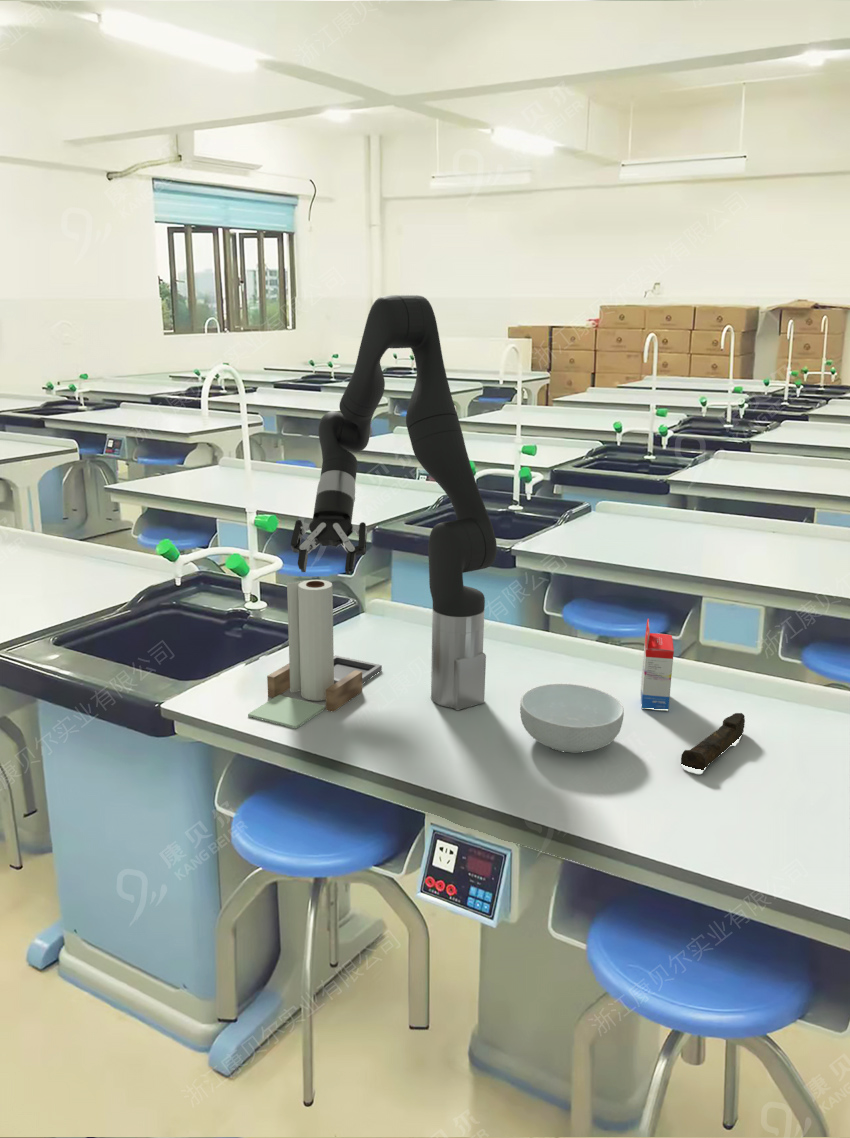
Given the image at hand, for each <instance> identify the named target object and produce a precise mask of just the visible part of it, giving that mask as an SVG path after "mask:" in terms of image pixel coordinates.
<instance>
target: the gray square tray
mask: <svg viewBox="0 0 850 1138" xmlns="http://www.w3.org/2000/svg"><path fill="white" fill-rule="evenodd" d="M382 666H383V665H382V664H379V663H373V662H369V661H364V660H359V659H354V658H350V657H345V656H339V655H334V684H335V683H336V682H338V681H339V680H341V679H342V678H344V677H345V676H347V675H348V674H350V673H351V672H353V671H354V670H357V671H362V685H364V684H365V683H366V682H368V681H369V680H371V679H372V678H373V677H372V676H374V675H375V674H376V675H378V674H379V673H381V672H382V671H381V670H382V669H383V668H382ZM380 671H381V672H380ZM378 672H379V673H378ZM377 673H378V674H377ZM376 675H375V676H376ZM375 676H374V677H375ZM371 677H372V678H371ZM370 678H371V679H370ZM368 679H369V680H368ZM367 680H368V681H367ZM364 682H365V683H364ZM363 683H364V684H363Z"/></svg>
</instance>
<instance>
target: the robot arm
mask: <svg viewBox="0 0 850 1138" xmlns="http://www.w3.org/2000/svg"><path fill="white" fill-rule="evenodd" d="M436 319H437V318H436V314H435V313H434V309H433V306H432V304H431V303H430V301H429V300H428V299H427V297H424V296H422V295H417V294H416V295H415V294H414V295H413V294H410V295H409V294H406V295H405V294H401V295H400V294H398V295H397V294H388V295H382V296H379V297H377V298H376V300H374V302H373V304H372V306H371V307H370V310H369V312H368V316H367V319H366V321H365V325H364V329H363V333H362V336H361V337H362V338H361V340H360V346H359V349H358V355H357V358H356V363H355V366H354V370H353V372H352V375H351V378H350V379H349V381H348V384H347V386H346V388H345V390H344V391H343V392H344V393H343V395H342V396H341V399H340V401H339V410H340V412H339V411H334V410H331V411H327V412H326V413H325V414H323V416H322V417H321V418H320V421H319V424H318V438H319V444H320V449H321V457H322V463H321V469H320V477H319V480H318V485H317V489H316V490H317V491H316V497H315V502H314V508H313V509H314V510H313V514H312V515H313V516H312V520H311V521H310V523H307V522H302V520H301V519H297V520H295V522H294V528H293V532H292V536H291V541H290V547H291V550H292V552H293V553H295V554H297V553H298V557H297V558H298V559H297V565H298V570H300V572H301V573H306V572H307V566H308V560H309V554H310V553H311V552H312V551H313V550H315V549H317V547H319V546H320V545H321V546H322V547H328V546H332V547H339V546H340V545H341V546H342V547H343V549H344V551H346V558H345V565H344V571H345V574H346V575H350V574H351V572H354V570H355V563H356V557H357V556H365V555H366V553H367V541H368V540H367V539H368V537H367V536H368V529H367V525H366V522H360V523H359V524H352V522H353V521H352V520H353V514H354V513H353V512H354V506H355V505H354V504H355V501H356V479H357V471H358V460H357V457H356V456H355V454H353V453H360V452H362V451H364V449H366V448H367V446H368V444H369V441H370V435H371V424H372V420H373V416H374V414H375V411H376V410H377V408H378V406H379V404H380V402H381V400H382V399H383V396H384V393H385V389H386V388H385V387H386V383H385V382H386V381H385V375H384V372H383V369H382V366H381V361H382V357H383V356H384V354H385V353H386V351H388V349H411V351H412V354H413V357H414V362H415V370H416V377H415V378H416V380H415V384H414V387H413V390H412V393H411V396H410V397H409V398H410V399H409V402H408V405H407V409H406V414H405V415H406V416H405V424H406V430H407V432H408V437H409V440H410V444H411V447H412V451H413V454H414V456H415V458H416V460H417V462H418V463H419V464H420V465H421V467H422V469H424V470H425V471H426V473H427V474H428V475H429V476H430V477H431V478H432V479H433V480H434V481H435V482H436V483H437V484H438V485H439V486H440V488H441V489H442V490H443V491H444V493H445V494H446V495H447V497H448V499H449V500H450V504H451V505H452V507H453V510H454V514H455V517H456V519H455V520H450V521H449V520H448V521H443V522H442V521H441V522H439V523H437V524H435V525H434V526H433V527H432V529H431V531H430V534H429V539H428V547H427V549H428V551H427V552H428V553H427V554H428V578H429V581H428V582H429V591H430V595H431V599H432V600H431V601H432V612H431V613H432V622H431V628H432V629H431V670H430V671H431V672H430V673H431V674H430V675H431V676H430V677H431V679H430V680H431V681H430V682H431V683H430V684H431V685H430V688H431V689H430V698H431V700H432V701H433V702H434V703H435V704H437V705H439V706H442V707H446V708H452V709H454V710H455V711H460V710H463V709H466V708H467V709H468V708H470V707H474V706H477V705H480V704H484V703H485V694H486V691H485V689H486V666H487V664H486V663H487V655H486V653H485V652H484V638H485V637H484V635H485V634H484V633H485V611H486V610H485V604H486V598H485V595H484V593H483V592H482V591H481V590H479V589H477V588H473V587H470V586H466V585H464V577H463V573H470V572H473V571H479V570H484V569H488V568H490V567H491V566H492V565H493V564H494V563H495V560H496V559H497V553H498V549H497V548H498V545H497V538H496V535H495V530H494V527H493V524H492V522H491V519H490V515H489V513H488V511H487V509H486V506H485V503H484V500H483V498H482V494H481V492H480V490H479V487H478V485H477V481H476V479H475V474H474V472H473V468H472V465H471V462H470V461H471V460H470V458H469V455H468V452H467V447H466V444H465V443H466V442H465V439H464V435H463V431H462V427H461V423H460V420H459V416H458V413H457V410H456V407H455V406H456V405H455V403H454V400H453V397H452V393H451V388H450V385H449V380H448V377H447V373H446V368H445V363H444V359H443V352H442V345H441V339H440V333H439V328H438V323H437V320H436ZM307 531H310V534H309V535H308V536H307V537H306V539H305V540H304V541H303V542H302V539H303V536H304V535H305V534H306V533H307ZM353 532H354V533H355V534H356V536H357V537H358V545H356V546H355V545H354V544H353V543H352V542H351V541H350V538H349V536H351V534H353Z"/></svg>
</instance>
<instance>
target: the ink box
mask: <svg viewBox="0 0 850 1138" xmlns="http://www.w3.org/2000/svg"><path fill="white" fill-rule="evenodd" d="M644 634H645V637H644V638H645V639H644V645H643V646H644V647H643V648H644V649H643V659H642V671H641V680H640V681H641V682H640V702H641V703H640V705H641V704H642V706H641V709H642V708H654V709H669V710H670V699H671V687H672V686H671V684H672V672H673V664H674V654H675V649H674V640H673V635H672V634H665V633H651V632H650V619H649V618H647V621H646V627H645V633H644Z"/></svg>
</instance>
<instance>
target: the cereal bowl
mask: <svg viewBox="0 0 850 1138" xmlns="http://www.w3.org/2000/svg"><path fill="white" fill-rule="evenodd" d="M519 713H520V720H521V723H522V725H523V728H524V730H525V731H526V732H527V733H528V734H529V736H531V737H532V738H533V739H534V740H536V741H537V742H538V743H541V744H542V745H544V746H547V747H548V748H550V747H551V749H552V748H553V750H554V749H555V751H557V750H558V751H557V752H560V751H564V752H563V753H565V752H581V753H584V751H585V752H592V751H596V750H599V749H601V748H603V747H606V746H607V745H609V744H610V743H612V742H613V741H614V740H615V739H616V738H617V736H618V735H619V734H620V732H621V729H622V726H623V722H624V716H625V715H624V714H625V713H624V705H623V704H622V702H621V701H620V700H619V699H617V698H616V696H613V695H612V694H609V693H608V692H605V691H602V690H600V689H598V688H595V687H589V686H585V685H579V684H573V683H572V684H571V683H551V684H543V685H540V686H535V687H533V688H531V689H529V690H527V691H526V692H525V693H523V695H522V697H521V700H520V708H519ZM582 751H583V752H582Z"/></svg>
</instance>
